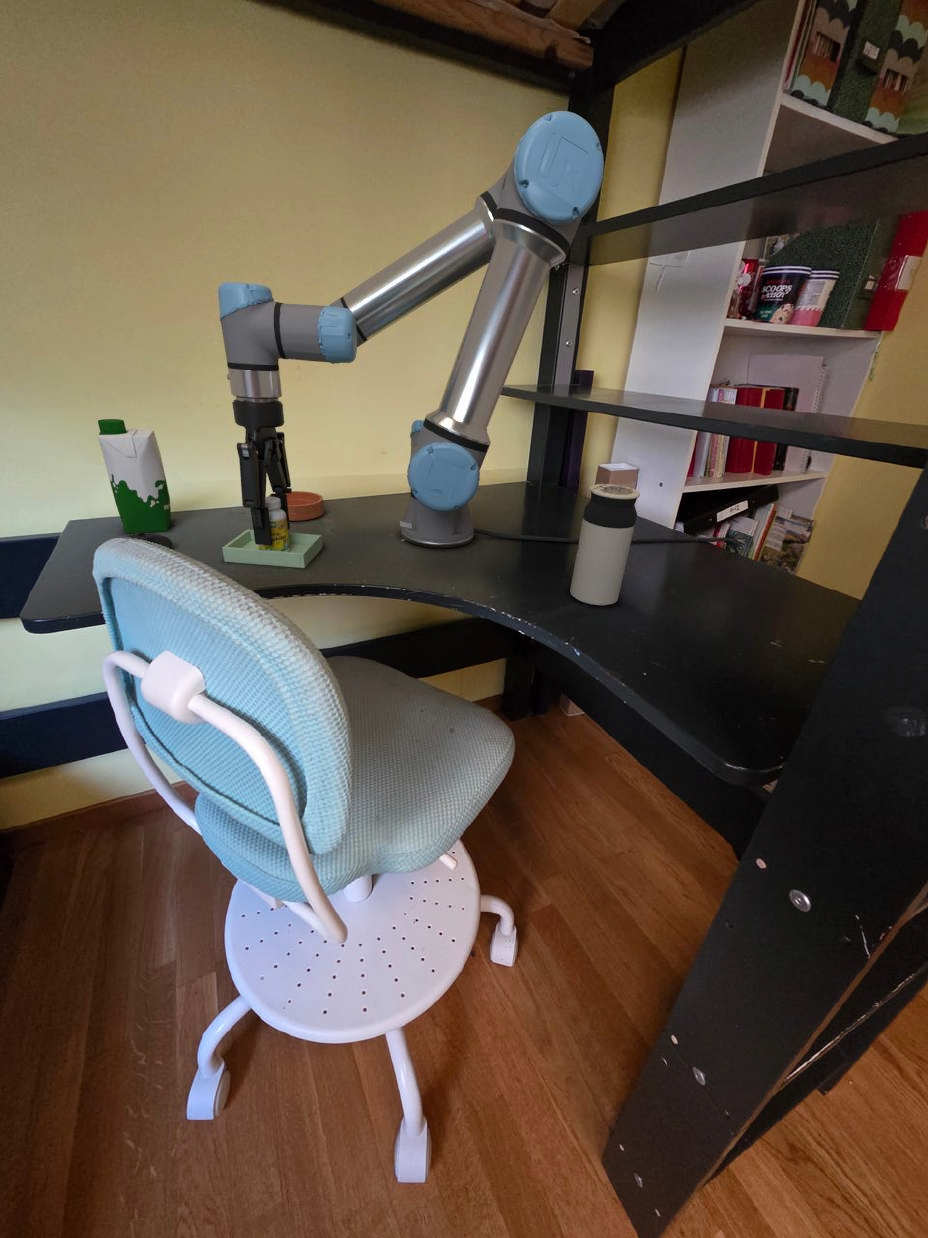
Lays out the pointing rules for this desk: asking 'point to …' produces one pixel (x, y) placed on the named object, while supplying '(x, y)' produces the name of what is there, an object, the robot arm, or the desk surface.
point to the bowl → (304, 505)
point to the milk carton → (135, 476)
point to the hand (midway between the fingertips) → (273, 536)
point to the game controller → (153, 538)
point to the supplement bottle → (277, 526)
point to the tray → (248, 551)
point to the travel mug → (604, 544)
